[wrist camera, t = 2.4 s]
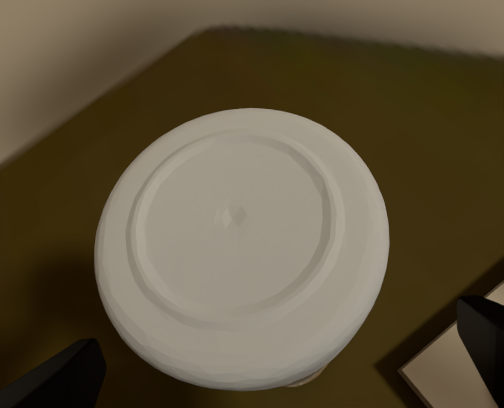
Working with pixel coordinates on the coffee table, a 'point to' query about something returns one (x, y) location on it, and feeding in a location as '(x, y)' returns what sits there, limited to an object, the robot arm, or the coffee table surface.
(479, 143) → the coffee table surface
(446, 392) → the collar base
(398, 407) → the coffee table surface
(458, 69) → the coffee table surface
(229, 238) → the sprinkles bottle
